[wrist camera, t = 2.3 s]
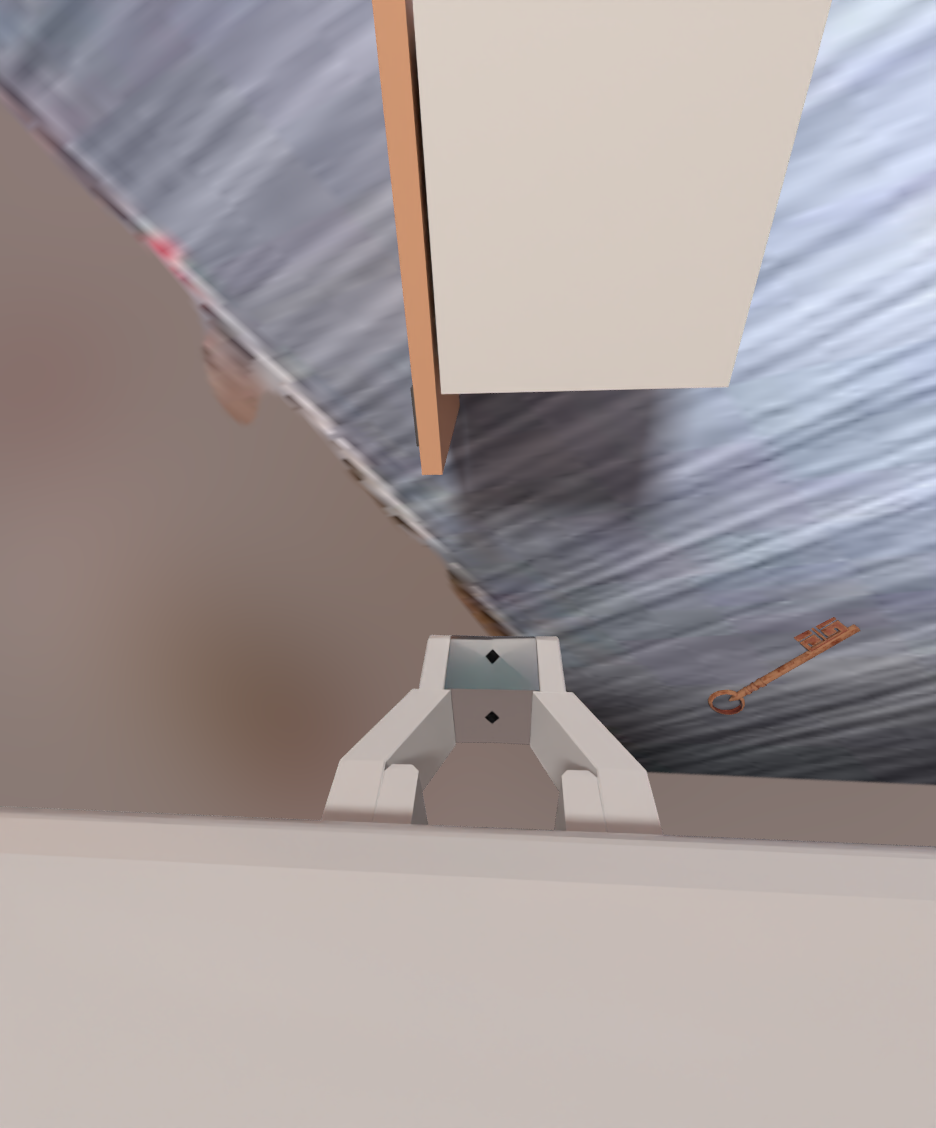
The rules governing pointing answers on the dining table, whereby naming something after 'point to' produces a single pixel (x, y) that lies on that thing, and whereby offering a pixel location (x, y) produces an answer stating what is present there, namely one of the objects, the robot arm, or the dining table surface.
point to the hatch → (413, 228)
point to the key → (793, 663)
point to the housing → (604, 183)
